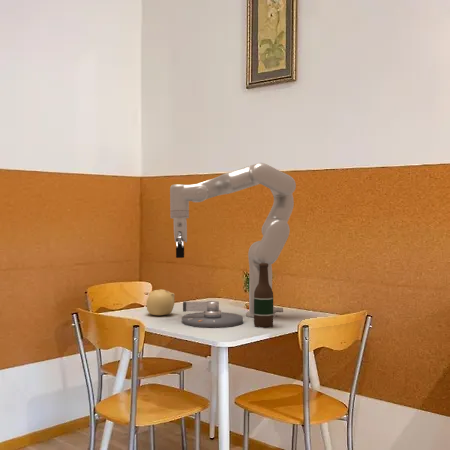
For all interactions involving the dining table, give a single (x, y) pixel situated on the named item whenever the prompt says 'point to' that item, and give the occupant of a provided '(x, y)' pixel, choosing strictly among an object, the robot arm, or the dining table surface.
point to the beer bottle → (263, 300)
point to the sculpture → (160, 302)
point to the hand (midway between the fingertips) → (180, 256)
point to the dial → (204, 308)
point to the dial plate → (212, 320)
